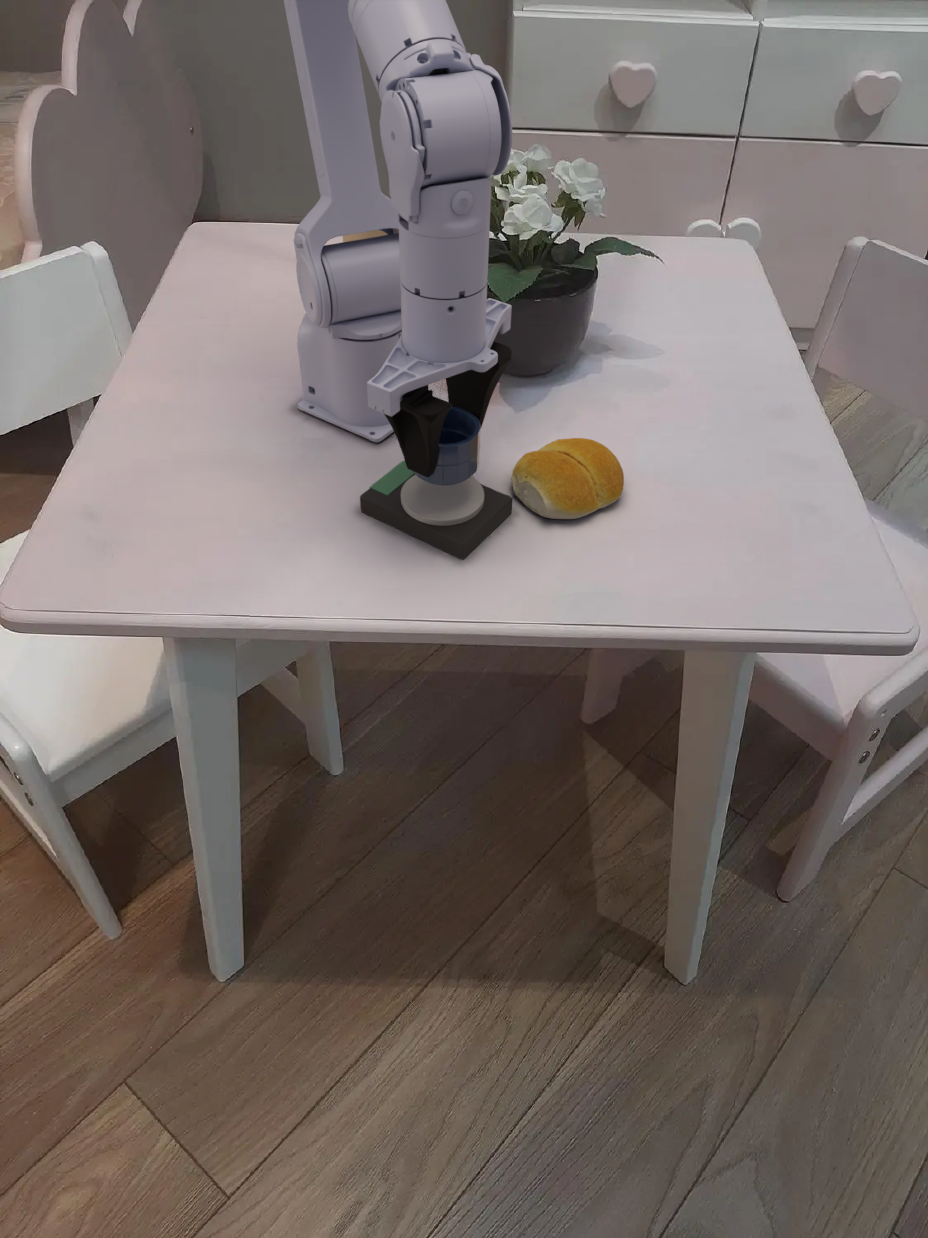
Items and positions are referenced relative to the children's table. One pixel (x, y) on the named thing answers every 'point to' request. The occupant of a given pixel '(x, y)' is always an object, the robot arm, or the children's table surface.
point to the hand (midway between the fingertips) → (443, 452)
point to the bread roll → (568, 478)
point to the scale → (437, 509)
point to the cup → (457, 449)
